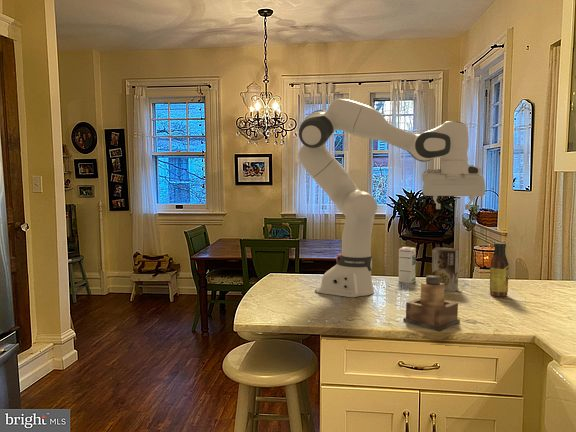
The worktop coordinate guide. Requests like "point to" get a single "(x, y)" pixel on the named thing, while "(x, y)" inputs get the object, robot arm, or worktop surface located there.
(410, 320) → the socket
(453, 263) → the coffee box
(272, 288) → the worktop surface
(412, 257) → the syrup box
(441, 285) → the cylinder
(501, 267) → the sauce bottle
